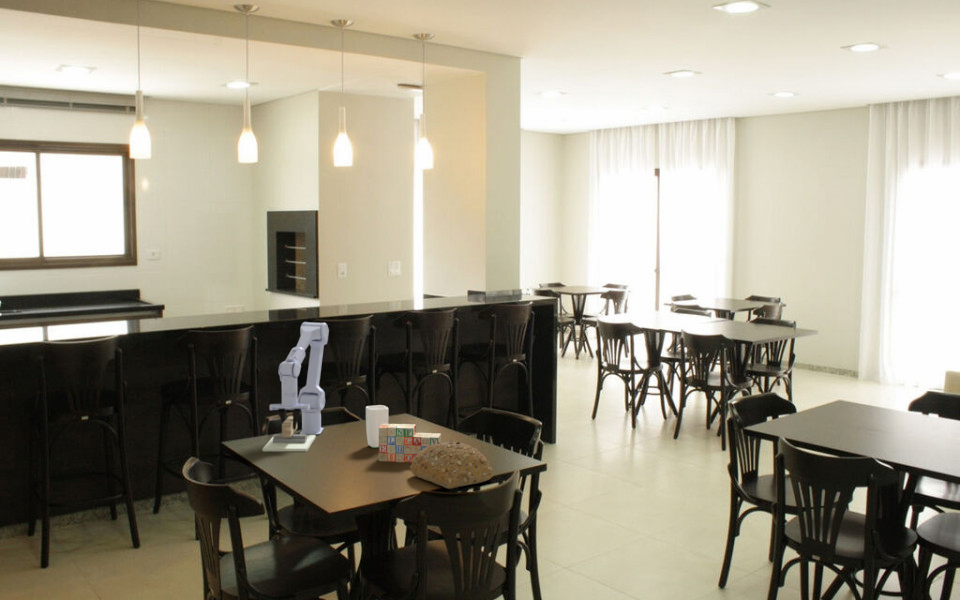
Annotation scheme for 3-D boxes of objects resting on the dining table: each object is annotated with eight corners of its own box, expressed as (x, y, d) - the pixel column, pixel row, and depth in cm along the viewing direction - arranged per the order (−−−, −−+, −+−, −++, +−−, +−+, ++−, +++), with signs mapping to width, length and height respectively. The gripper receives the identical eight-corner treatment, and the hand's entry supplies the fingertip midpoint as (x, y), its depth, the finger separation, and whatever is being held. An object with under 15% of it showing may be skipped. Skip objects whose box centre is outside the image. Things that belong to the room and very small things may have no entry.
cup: (371, 449, 299) (371, 410, 298) (364, 445, 305) (364, 406, 304) (389, 447, 302) (389, 408, 301) (382, 443, 309) (382, 404, 307)
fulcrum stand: (274, 437, 315) (274, 428, 315) (315, 437, 316) (315, 428, 315) (262, 451, 295) (262, 441, 295) (306, 451, 296) (306, 441, 295)
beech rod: (289, 428, 312) (289, 415, 311) (297, 428, 312) (297, 415, 312) (282, 437, 298) (281, 423, 297) (290, 437, 298) (290, 423, 298)
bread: (403, 476, 267) (403, 441, 266) (453, 465, 281) (453, 431, 280) (449, 495, 249) (449, 457, 248) (500, 481, 263) (501, 445, 262)
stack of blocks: (441, 458, 288) (441, 424, 287) (438, 463, 282) (438, 429, 281) (382, 456, 291) (382, 422, 290) (378, 461, 284) (378, 426, 283)
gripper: (267, 395, 300) (268, 431, 301) (307, 395, 300) (307, 431, 301) (271, 391, 307) (272, 426, 308) (310, 391, 307) (310, 426, 308)
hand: (289, 428), depth 305 cm, fingers closed on beech rod, 3 cm apart
